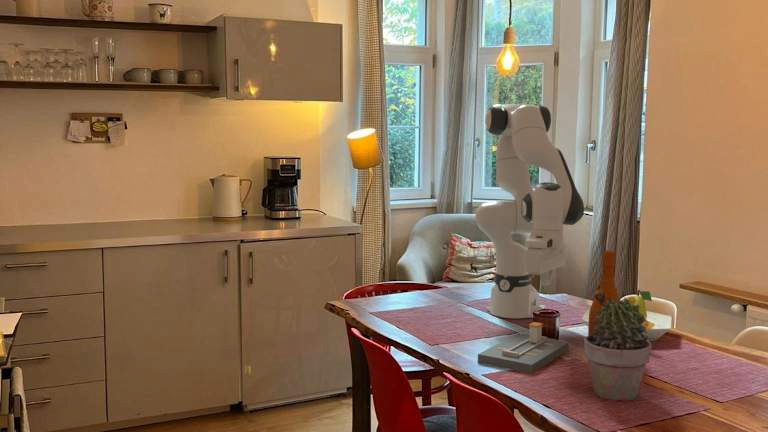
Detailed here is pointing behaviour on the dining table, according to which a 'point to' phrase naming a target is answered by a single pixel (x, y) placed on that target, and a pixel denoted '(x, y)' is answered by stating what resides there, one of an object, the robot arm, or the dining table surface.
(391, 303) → the dining table surface
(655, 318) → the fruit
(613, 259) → the wine bottle
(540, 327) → the fader tab
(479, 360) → the board
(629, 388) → the potted plant
